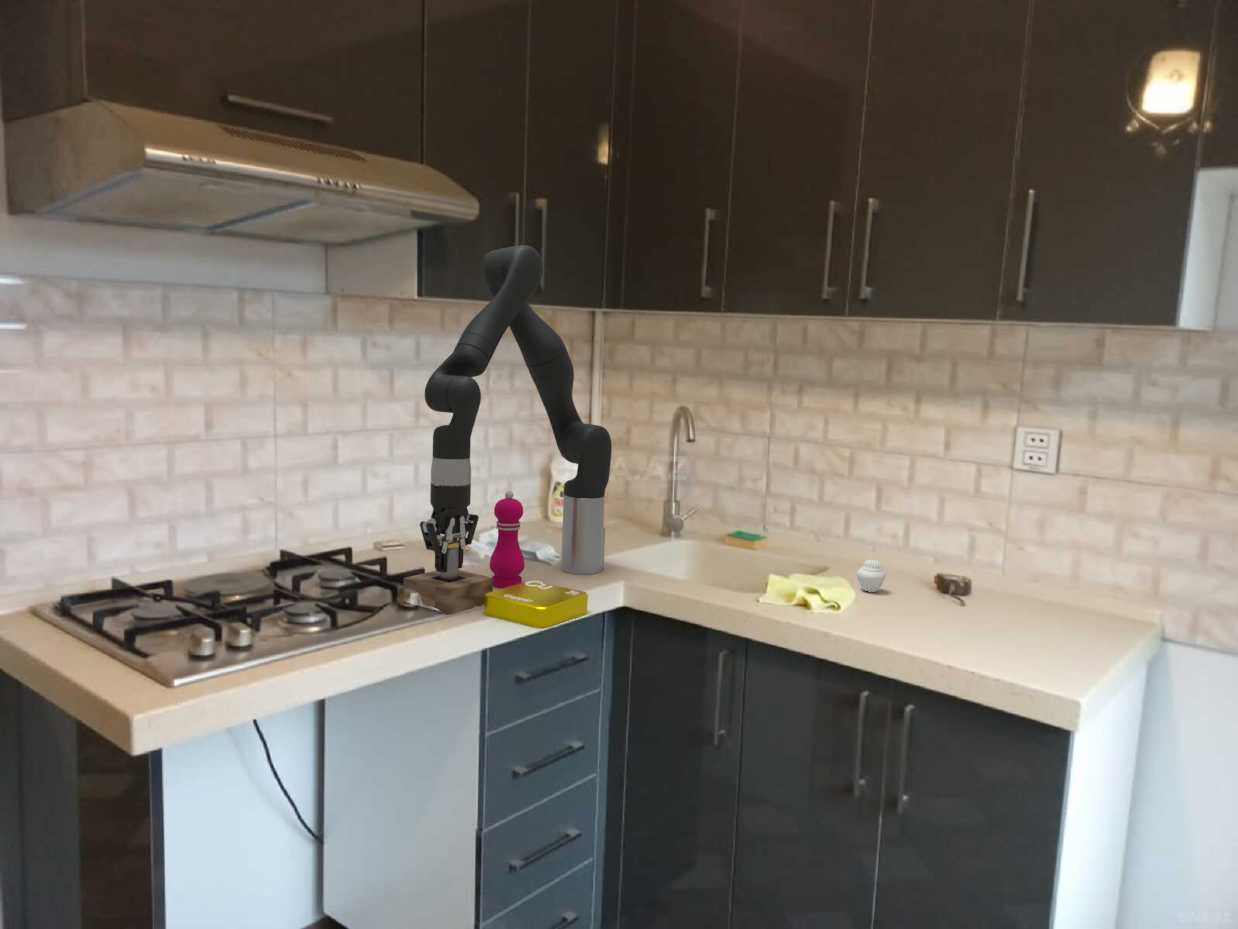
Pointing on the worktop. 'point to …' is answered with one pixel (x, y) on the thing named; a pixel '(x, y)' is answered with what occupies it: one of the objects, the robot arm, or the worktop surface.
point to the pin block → (450, 590)
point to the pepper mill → (507, 543)
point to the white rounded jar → (871, 576)
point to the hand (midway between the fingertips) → (448, 569)
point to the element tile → (536, 604)
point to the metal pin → (451, 562)
